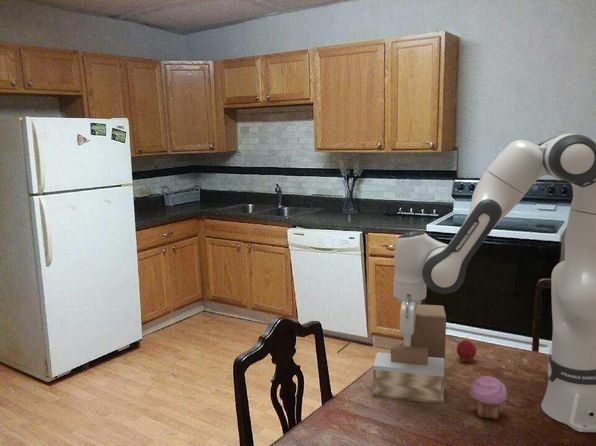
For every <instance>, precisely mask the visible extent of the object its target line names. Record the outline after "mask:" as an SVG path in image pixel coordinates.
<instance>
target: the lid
mask: <svg viewBox="0 0 596 446" xmlns="http://www.w3.org/2000/svg"><path fill="white" fill-rule="evenodd" d="M375 355H376V356H375V358H374V362H373V364H372V371H373V370H381V371H391V372H402V373H412V374H422V375H432V376H442V377H444V358H436V357H428V348H418V347H410V346H407V345H394V344H392V345H391V346H390V352H379V351H378V352H376V354H375Z"/></svg>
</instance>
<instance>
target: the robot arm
mask: <svg viewBox="0 0 596 446" xmlns="http://www.w3.org/2000/svg"><path fill="white" fill-rule="evenodd" d="M545 176H551V177H553V178H555V179H556V180H561V181H565V182H567V183H570V185H571V187H572V200H571V204H570V208H569V214H568V218H567V219H568V220H567V223H566V225H567V226H566V229H565V235H564V260H562V261H560V262H559V263H557V264H556V265H555V266H554V267H553V268H552V272H551V275H550V277H551V278H550V281H551V283H550V284H551V289H550V290H551V317H552V319H551V320H552V339H551V354H550V355H549V357H548V358H549V359H548V363H547V377H548V382H547V386H546V390H545V393H544V396H543V400H542V401H541V403H540V407H541V409H542V411H543V413H545V415H547V416H548V417H550V418H551V419H553V420H554V421H558V422H560V423H562V424H564V425H567V426H569V427H570V428H571V429H573V430H574V431H577V432H579V433H580V432H581V433H596V142H595V141H594V140H593V139H591V138H590V137H588V136H585V135H583V134H577V133H564V134H560V135H557V136H556V135H555V136H552V137H551V138H549V139H547V140H545V141H543V142H541V143H538V144H535V143H533V142H532V141H529V140H524V139H517V140H516V139H515V140H514V141H512V142H511V143H509V144H508V145H507V146H505V148H504V149H503V150H502V151H501V152H500V153H499V154H498V155H497V156H496V158H494V160H493V161H492V162H491V163H490V165H489V166H488V167H487V169H485V171H484V173H482V175H481V177H480V179H479V181H478V182H477V184H476V186H475V188H474V191H473V192H472V196H471V200H470V201H471V203H470V207H469V209H468V210H469V211H468V213H467V216H466V218H465V220H464V222H463V224H462V225H461V226H460V228H459V229H458V231H457V232H455V235H454V237H453V238H452V239H451V240H450V241H449V243H448V244H447V243H445V242H441V241H439V240H436V239H434V238H433V237H431V236H430V235H428V234H427V233H426V232H424V231H421V230H420V231H419V230H413V231H408V232H405V233H402V234H401V235H399V236H398V237H397V239H396V241H395V245H394V246H395V248H394V256H393V258H394V259H393V262H394V268H395V269H394V270H395V272H394V276H393V290H392V291H393V292H392V293H393V297H394V298H396V299H397V302H398V303H399V304H400V310H399V333H400V335H402V337H403V346H406V347H410V344H411V335H413V334H414V328H415V321H416V313H417V308H418V304H419V305H421V303H422V300H424V299H426V298H427V288H428V289H430V291H432V292H435V293H437V294H442V295H445V294H446V295H447V294H448V295H449V294H452V293H455V292H456V291H458V290H459V289H460V288H461V287H462V286H463V284H464V281H465V277H466V273H467V268H468V265H469V263H470V261H471V260H472V259H473V257H474V255H475V254H476V253H477V251H478V250H479V248H480V247H481V246H482V244H483V242H485V240H486V239H487V238H488V237H489V234H491V232H492V231H493V230H494V228H495V227H497V226H498V224H499V223H500V222H502V220H503V219H504V218H505V217H506V216H507V215H508V214H509V213H510V212H511V211H512V210H514V208H515V207H516V206H517V205H518V204H519V203H520V201H521V200H522V199H523V198H524V196H526V193H528V191H529V190H530V188H531V186H532V185H533V184H535V183H536V182H537V180H539V179H541V178H542V177H545Z"/></svg>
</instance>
